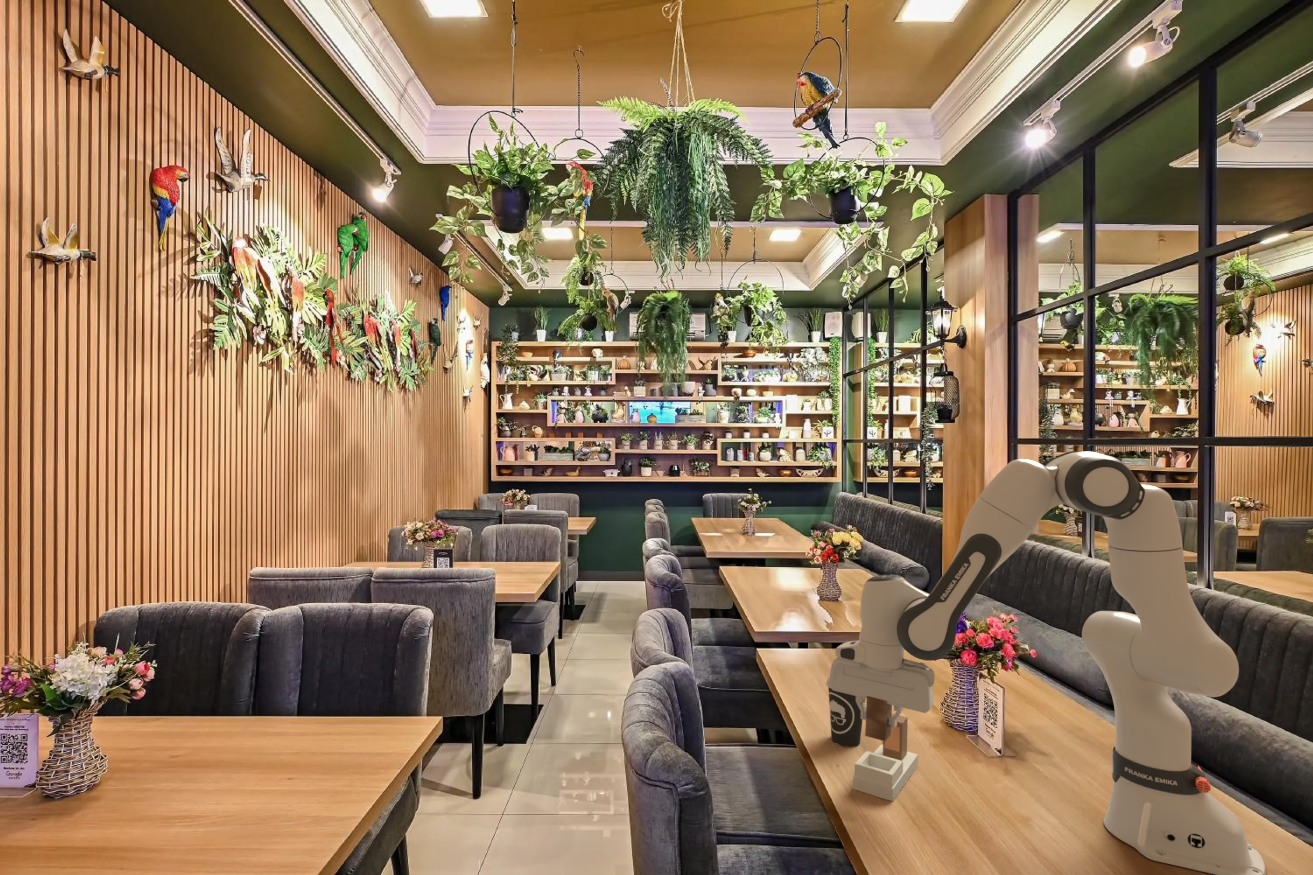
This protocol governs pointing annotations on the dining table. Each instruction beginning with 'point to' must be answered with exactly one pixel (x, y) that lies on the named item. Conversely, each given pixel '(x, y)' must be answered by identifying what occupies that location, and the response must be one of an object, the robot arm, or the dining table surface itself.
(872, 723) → the stacked taupe block
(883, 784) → the block holder
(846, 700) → the coffee cup
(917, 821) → the dining table surface
